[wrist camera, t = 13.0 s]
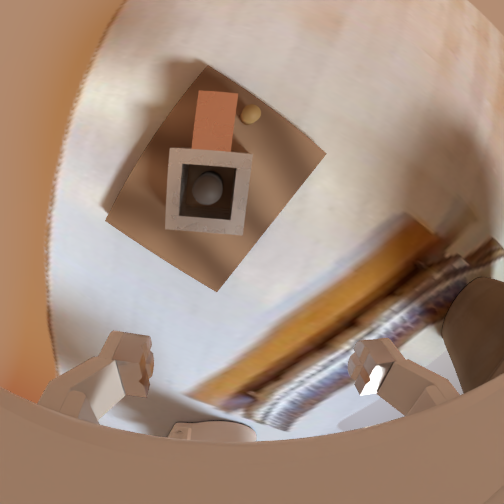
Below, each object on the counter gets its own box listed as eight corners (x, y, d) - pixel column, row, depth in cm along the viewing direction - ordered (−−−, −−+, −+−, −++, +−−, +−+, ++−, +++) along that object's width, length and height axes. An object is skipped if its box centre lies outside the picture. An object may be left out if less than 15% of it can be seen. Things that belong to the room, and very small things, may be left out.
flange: (240, 221, 26) (242, 235, 22) (173, 216, 25) (165, 229, 21) (255, 103, 22) (260, 96, 18) (184, 97, 21) (177, 89, 17)
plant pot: (395, 367, 40) (450, 459, 20) (458, 237, 31) (565, 311, 11) (466, 355, 44) (513, 415, 24) (514, 259, 35) (581, 309, 15)
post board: (217, 285, 30) (215, 318, 24) (110, 216, 26) (84, 236, 20) (321, 153, 25) (347, 156, 20) (208, 69, 21) (203, 48, 15)
